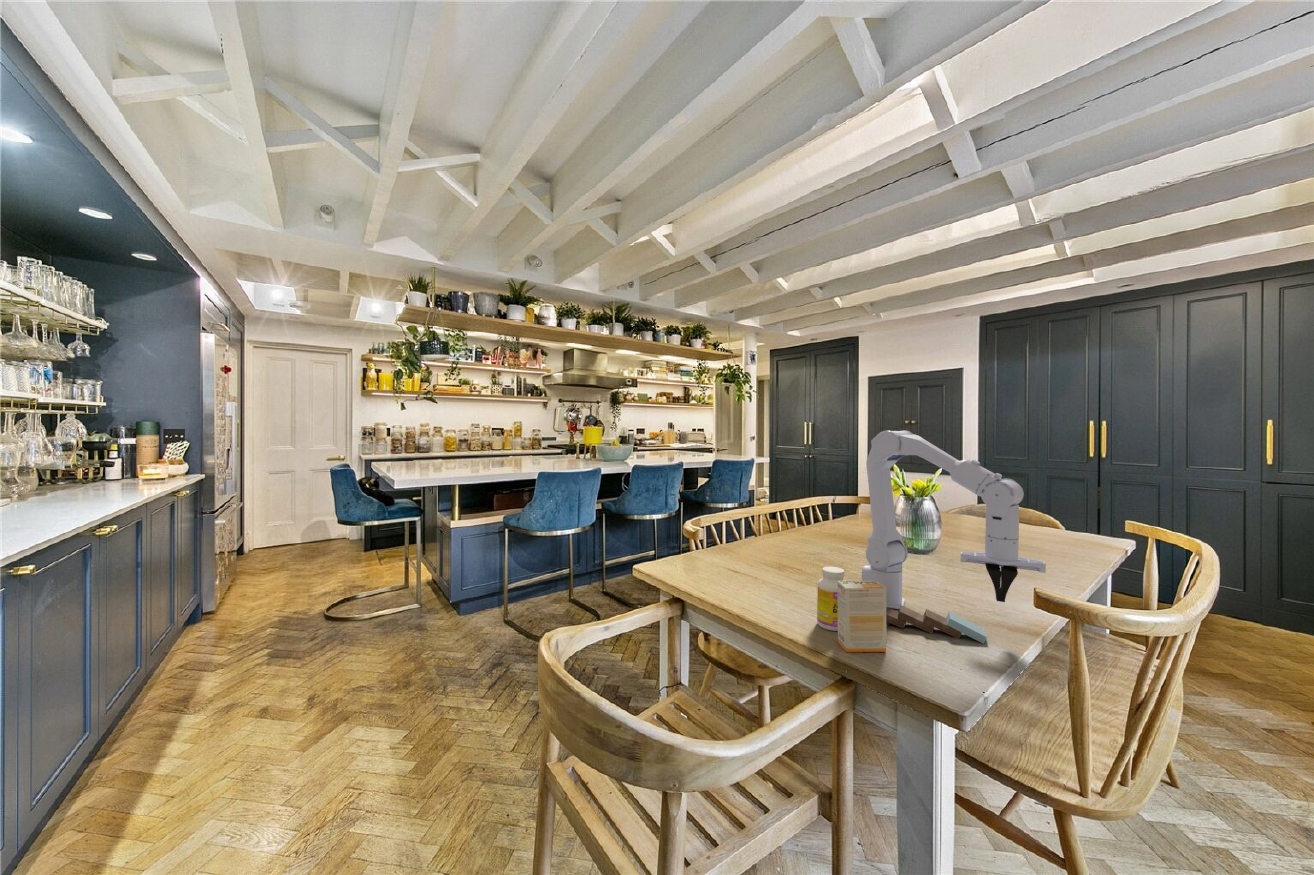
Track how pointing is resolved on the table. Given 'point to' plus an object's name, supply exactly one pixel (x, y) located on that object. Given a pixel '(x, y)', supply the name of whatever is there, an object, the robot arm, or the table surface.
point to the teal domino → (966, 627)
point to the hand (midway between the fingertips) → (1000, 600)
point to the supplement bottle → (828, 598)
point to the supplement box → (862, 616)
